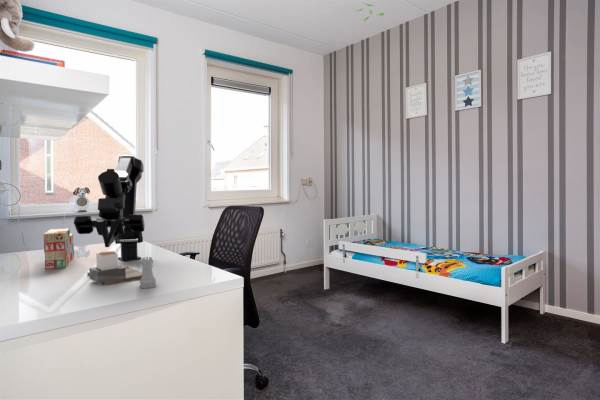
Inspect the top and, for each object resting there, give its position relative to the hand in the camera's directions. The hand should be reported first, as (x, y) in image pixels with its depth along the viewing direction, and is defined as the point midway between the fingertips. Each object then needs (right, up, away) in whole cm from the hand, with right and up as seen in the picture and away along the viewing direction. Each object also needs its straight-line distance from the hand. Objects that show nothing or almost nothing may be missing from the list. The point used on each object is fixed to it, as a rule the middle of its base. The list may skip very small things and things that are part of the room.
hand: (106, 246), depth 111 cm
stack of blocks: (-31, -10, +28) cm, 42 cm away
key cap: (0, -6, 0) cm, 6 cm away
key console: (0, -10, +6) cm, 11 cm away
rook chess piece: (+14, -11, -5) cm, 18 cm away
